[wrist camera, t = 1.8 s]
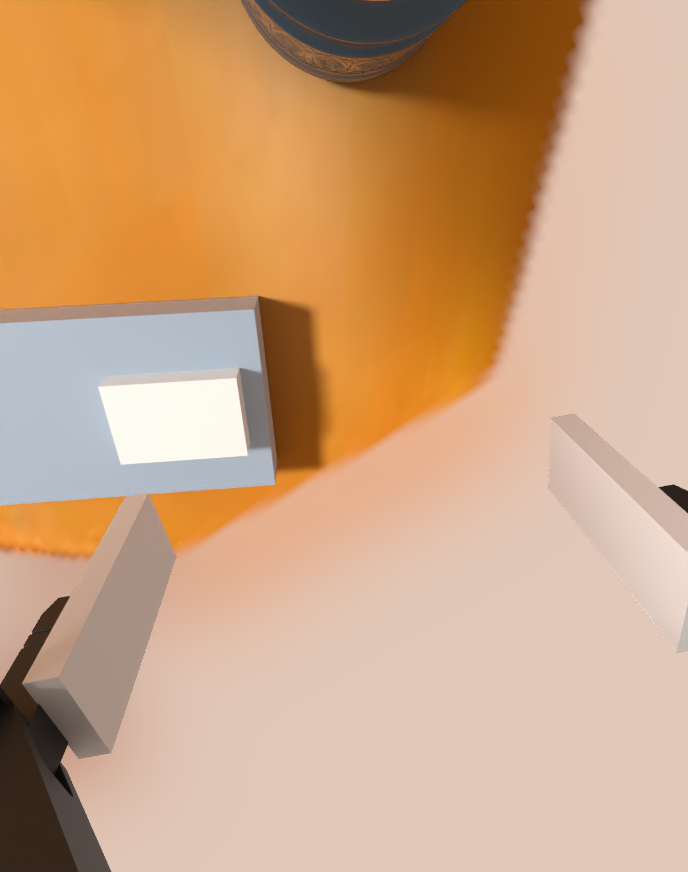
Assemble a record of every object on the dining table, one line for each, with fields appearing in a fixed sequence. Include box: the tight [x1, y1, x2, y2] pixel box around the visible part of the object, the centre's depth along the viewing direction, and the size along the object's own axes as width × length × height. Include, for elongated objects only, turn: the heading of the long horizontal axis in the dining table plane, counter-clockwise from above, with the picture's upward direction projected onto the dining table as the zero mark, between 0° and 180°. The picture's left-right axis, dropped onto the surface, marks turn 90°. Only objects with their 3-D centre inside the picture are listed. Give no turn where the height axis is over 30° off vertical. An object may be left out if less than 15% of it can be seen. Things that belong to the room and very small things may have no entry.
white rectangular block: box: [98, 368, 250, 465], centre depth 35 cm, size 9×6×2 cm, turn 92°
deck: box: [0, 296, 277, 505], centre depth 37 cm, size 22×14×4 cm, turn 92°
